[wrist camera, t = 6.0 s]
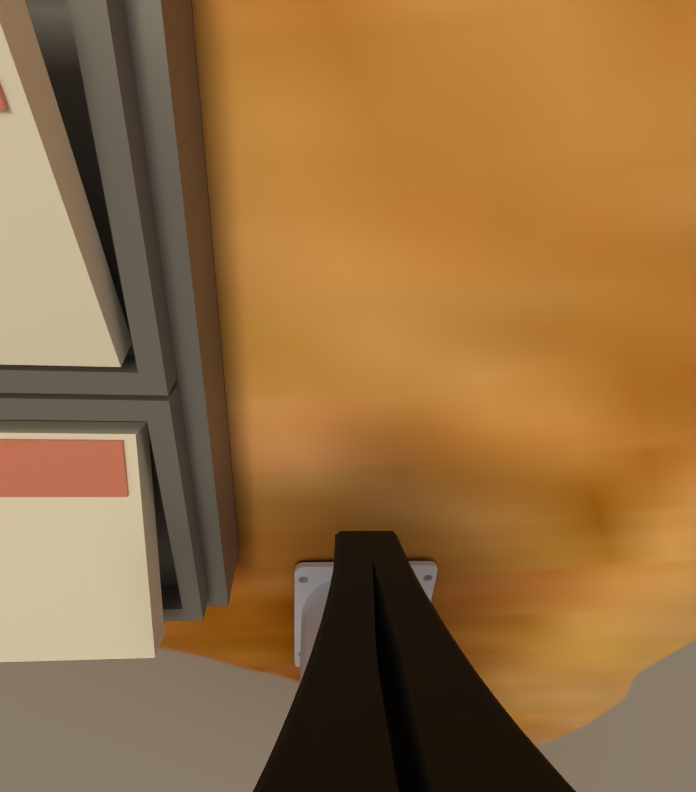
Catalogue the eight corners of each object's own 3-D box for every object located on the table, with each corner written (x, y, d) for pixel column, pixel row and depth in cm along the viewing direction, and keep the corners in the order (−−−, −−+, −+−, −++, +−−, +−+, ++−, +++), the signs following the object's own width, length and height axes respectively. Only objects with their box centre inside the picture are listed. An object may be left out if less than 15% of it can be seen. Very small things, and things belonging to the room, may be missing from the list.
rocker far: (164, 633, 19) (153, 660, 18) (7, 637, 18) (-16, 665, 17) (147, 422, 17) (133, 435, 15) (-34, 419, 16) (-64, 433, 15)
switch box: (238, 547, 25) (224, 629, 21) (43, 549, 24) (-11, 634, 20) (186, -60, 13) (129, -141, 9) (-205, -97, 12) (-459, -202, 8)
